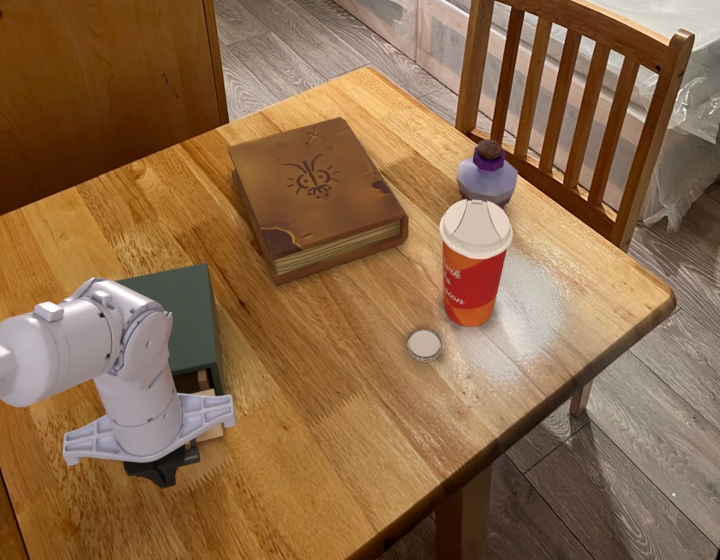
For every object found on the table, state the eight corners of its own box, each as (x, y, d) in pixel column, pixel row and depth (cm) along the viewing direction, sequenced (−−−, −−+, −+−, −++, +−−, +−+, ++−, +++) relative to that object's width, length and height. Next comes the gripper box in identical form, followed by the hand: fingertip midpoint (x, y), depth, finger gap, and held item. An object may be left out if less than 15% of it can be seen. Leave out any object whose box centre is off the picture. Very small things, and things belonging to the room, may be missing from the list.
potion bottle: (525, 206, 104) (534, 141, 97) (495, 242, 99) (503, 176, 92) (472, 181, 109) (478, 117, 102) (441, 215, 103) (444, 150, 96)
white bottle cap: (443, 335, 87) (444, 332, 86) (438, 364, 84) (438, 361, 83) (410, 329, 88) (410, 325, 87) (404, 357, 84) (404, 354, 84)
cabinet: (227, 408, 80) (216, 361, 75) (118, 434, 78) (99, 387, 73) (216, 308, 91) (207, 262, 86) (120, 329, 89) (105, 282, 84)
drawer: (227, 475, 73) (218, 438, 69) (120, 502, 71) (104, 466, 67) (214, 336, 86) (205, 299, 82) (123, 356, 84) (110, 319, 81)
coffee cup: (436, 277, 94) (441, 192, 85) (501, 283, 93) (513, 198, 84) (432, 332, 87) (437, 246, 79) (502, 340, 86) (515, 253, 78)
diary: (408, 242, 99) (408, 212, 96) (275, 286, 93) (271, 255, 90) (346, 143, 116) (345, 114, 113) (232, 174, 111) (227, 145, 108)
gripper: (222, 336, 66) (240, 419, 74) (53, 372, 63) (90, 455, 71) (230, 407, 60) (248, 489, 68) (45, 450, 57) (86, 530, 65)
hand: (167, 476), depth 69 cm, fingers closed, pressing on drawer
